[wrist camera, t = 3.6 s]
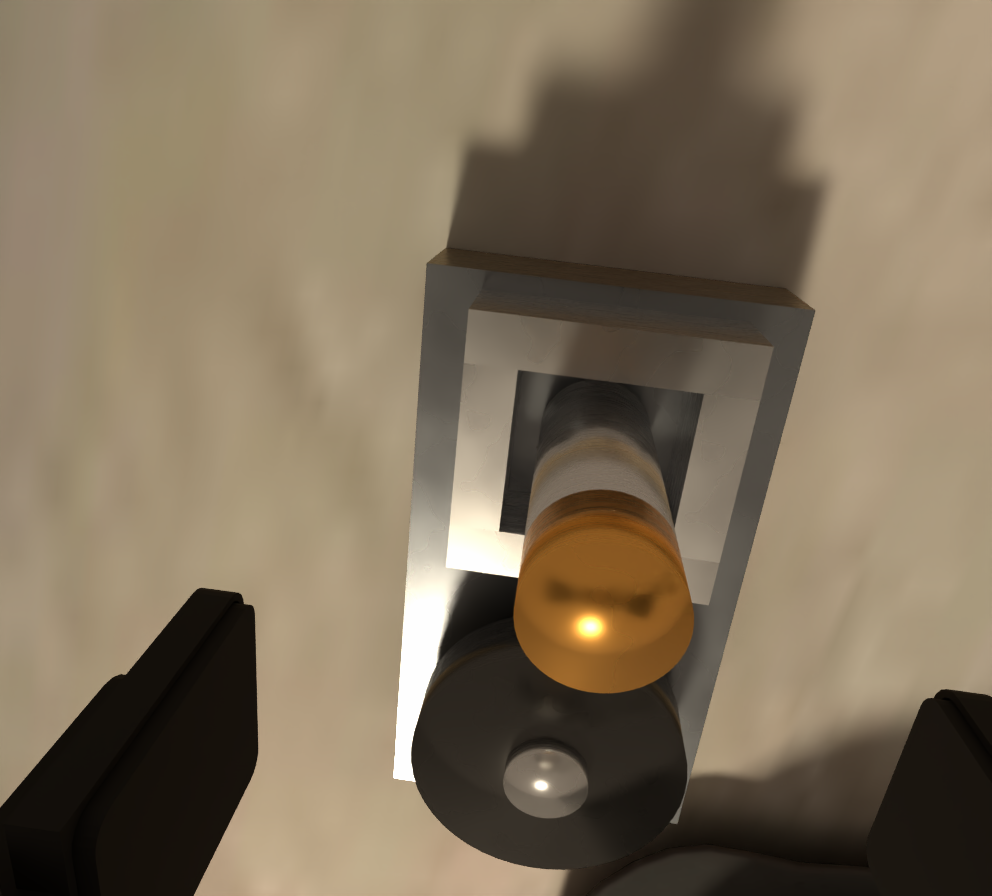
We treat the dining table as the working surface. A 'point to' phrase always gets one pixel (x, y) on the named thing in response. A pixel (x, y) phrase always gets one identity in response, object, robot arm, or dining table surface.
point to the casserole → (733, 875)
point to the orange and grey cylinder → (600, 548)
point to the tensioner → (501, 529)
